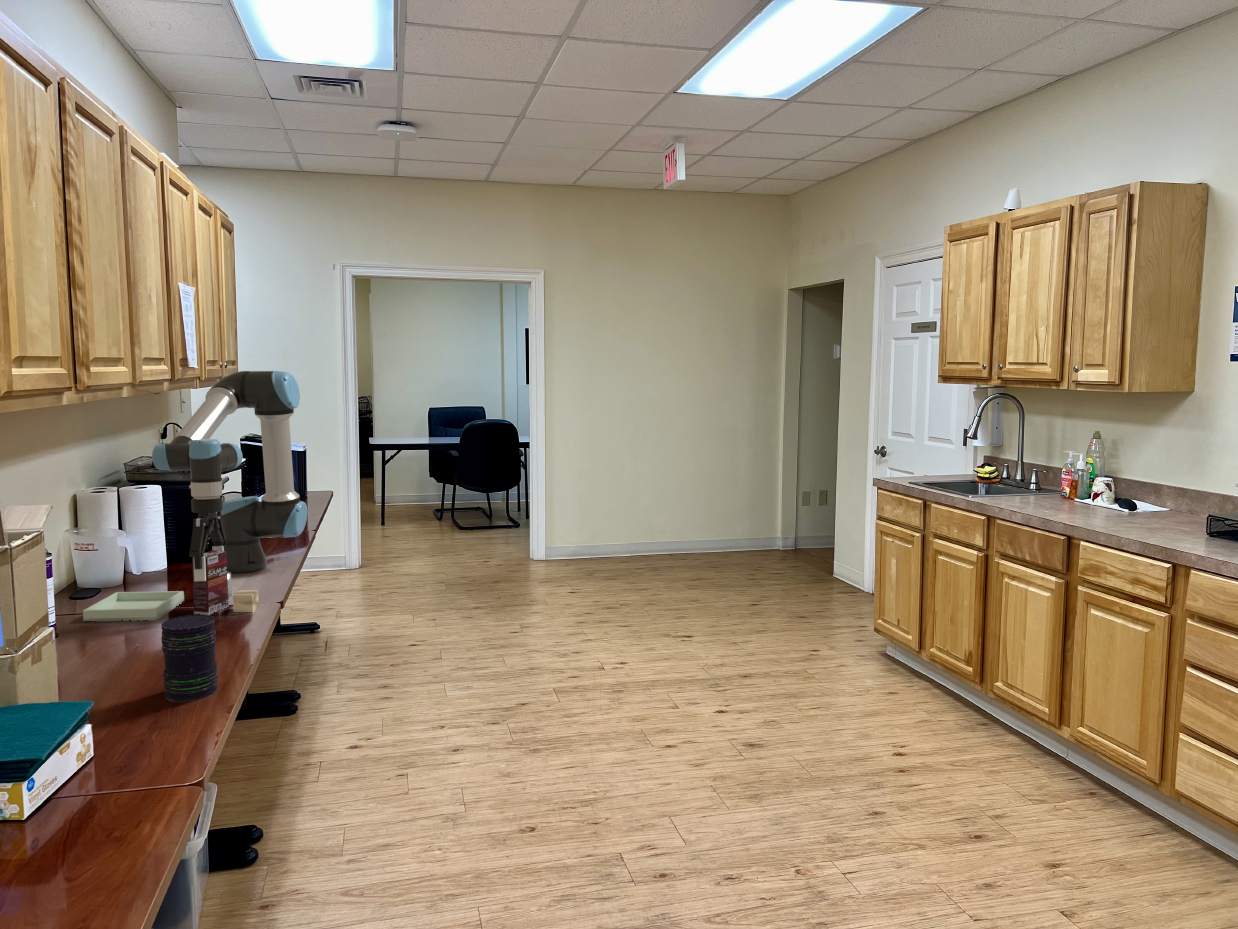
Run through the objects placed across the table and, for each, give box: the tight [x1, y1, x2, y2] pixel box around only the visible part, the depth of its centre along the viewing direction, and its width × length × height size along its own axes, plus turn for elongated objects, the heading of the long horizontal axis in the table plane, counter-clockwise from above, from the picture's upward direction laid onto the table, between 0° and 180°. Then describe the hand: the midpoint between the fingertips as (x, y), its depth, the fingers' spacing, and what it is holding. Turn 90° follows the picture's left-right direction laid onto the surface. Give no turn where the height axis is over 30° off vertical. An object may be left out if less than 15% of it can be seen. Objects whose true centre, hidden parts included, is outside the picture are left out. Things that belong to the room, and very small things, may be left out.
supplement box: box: [191, 550, 229, 616], centre depth 230 cm, size 9×5×16 cm, turn 168°
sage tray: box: [82, 590, 185, 623], centre depth 230 cm, size 18×18×3 cm
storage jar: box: [160, 614, 219, 703], centre depth 173 cm, size 10×10×15 cm
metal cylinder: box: [227, 571, 233, 599], centre depth 245 cm, size 5×5×7 cm
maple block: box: [232, 589, 260, 613], centre depth 232 cm, size 5×5×5 cm
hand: (209, 575), depth 230 cm, fingers open, 13 cm apart
